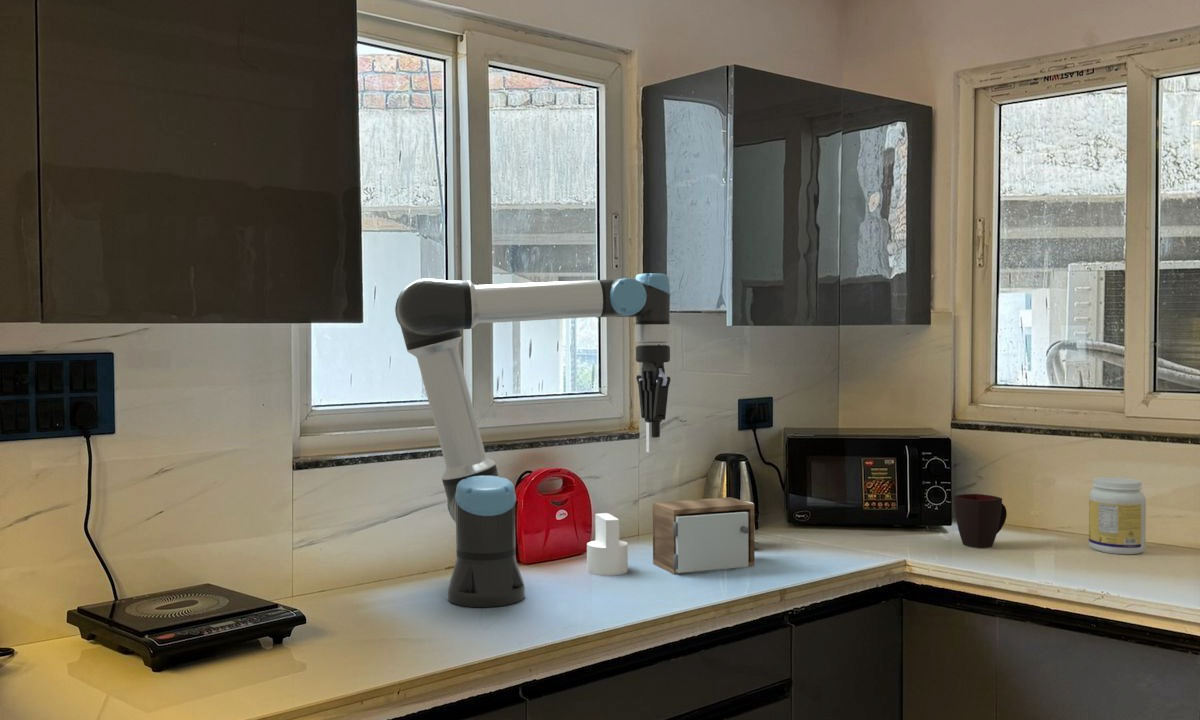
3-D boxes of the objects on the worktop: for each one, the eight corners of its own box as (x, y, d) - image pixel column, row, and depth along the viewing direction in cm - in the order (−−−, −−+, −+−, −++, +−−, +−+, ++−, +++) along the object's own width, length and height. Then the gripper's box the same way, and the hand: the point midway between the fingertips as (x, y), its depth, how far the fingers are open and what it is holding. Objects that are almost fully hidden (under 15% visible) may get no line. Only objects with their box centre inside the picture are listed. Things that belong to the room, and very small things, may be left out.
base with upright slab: (633, 573, 219) (632, 518, 219) (593, 576, 216) (593, 521, 216) (620, 565, 228) (620, 512, 227) (582, 567, 225) (582, 514, 225)
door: (677, 574, 215) (677, 518, 215) (672, 572, 218) (672, 516, 217) (751, 567, 221) (751, 513, 221) (745, 565, 224) (745, 511, 223)
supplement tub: (1098, 542, 250) (1098, 475, 249) (1152, 549, 241) (1152, 479, 241) (1081, 550, 241) (1081, 480, 241) (1136, 557, 232) (1136, 485, 232)
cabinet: (674, 574, 218) (673, 510, 218) (653, 563, 228) (652, 502, 228) (754, 566, 225) (754, 504, 225) (730, 556, 236) (730, 497, 235)
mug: (947, 544, 249) (947, 495, 249) (987, 538, 255) (987, 491, 255) (979, 551, 240) (979, 501, 240) (1019, 545, 246) (1019, 497, 246)
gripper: (681, 344, 215) (681, 454, 215) (656, 344, 227) (656, 448, 228) (649, 344, 212) (649, 455, 213) (625, 344, 224) (626, 449, 225)
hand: (653, 451), depth 220 cm, fingers closed
